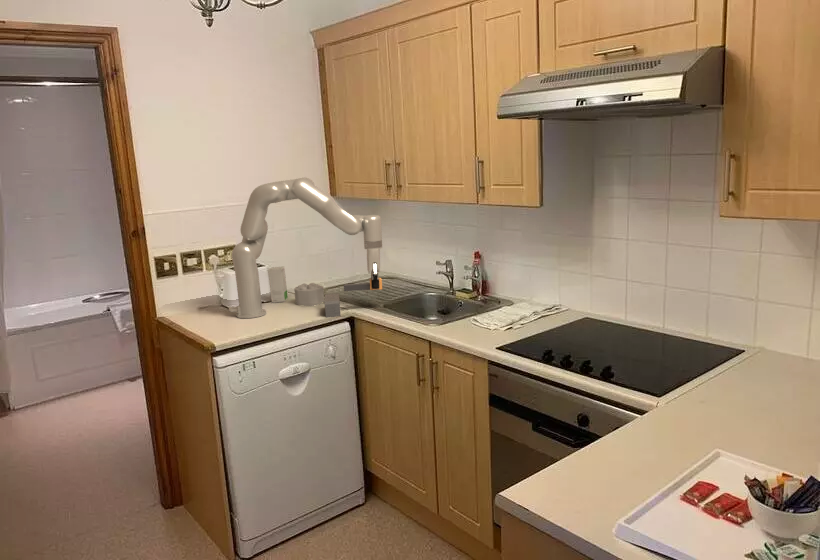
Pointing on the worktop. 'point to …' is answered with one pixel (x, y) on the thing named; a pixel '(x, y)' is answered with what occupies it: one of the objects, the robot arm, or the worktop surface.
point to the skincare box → (277, 284)
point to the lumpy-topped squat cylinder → (309, 294)
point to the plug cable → (362, 286)
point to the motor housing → (332, 305)
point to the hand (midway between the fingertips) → (375, 287)
